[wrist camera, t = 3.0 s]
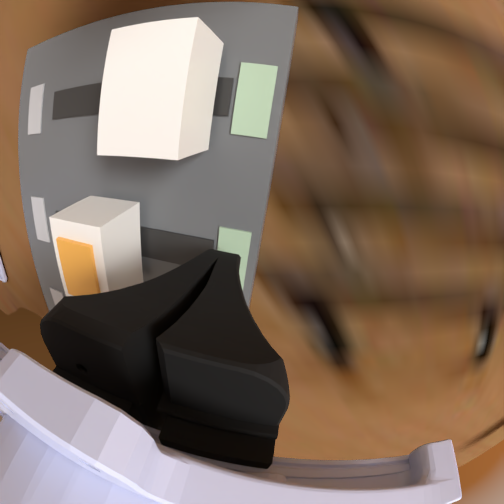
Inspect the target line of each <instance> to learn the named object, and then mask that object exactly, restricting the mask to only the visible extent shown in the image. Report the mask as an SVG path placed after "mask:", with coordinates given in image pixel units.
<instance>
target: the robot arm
mask: <svg viewBox="0 0 504 504" xmlns="http://www.w3.org/2000/svg"><path fill="white" fill-rule="evenodd" d="M240 262H241V257H240V255H239V254H234V253H229V252H224V251H219V250H214V249H209V250H207V251H205V252H203V253H202V254H200V255H198V256H196V257H195V258H193V259H191V260H190V261H188V262H186V263H184V264H183V265H181V266H179V267H177V268H175V269H173V270H171V271H169V272H167V273H165V274H163V275H160V276H158V277H156V278H153V279H151V280H148V281H145V282H143V283H140V284H136V285H133V286H129V287H126V288H122V289H118V290H114V291H109V292H103V293H97V294H90V295H78V296H64V297H63V298H62V299H61V300H60V301H59V302H58V303H57V304H56V305H55V306H54V307H53V308H52V309H51V310H50V311H49V312H48V313H47V314H46V315H45V317H44V318H43V319H42V320H41V323H40V329H41V335H42V337H43V340H44V342H45V344H46V346H47V348H48V350H49V352H50V354H51V356H52V358H53V360H54V362H55V364H56V368H55V369H54V370H53V371H51V370H49V369H47V368H46V367H44V366H43V365H41V364H40V363H38V362H37V361H35V360H34V359H32V358H30V357H29V356H27V355H26V354H25V353H23V352H21V351H19V350H17V349H10V350H9V349H8V348H7V347H6V346H4V345H3V344H2V343H1V342H0V415H1V416H2V417H3V419H2V421H1V422H0V504H451V503H453V502H456V501H458V500H460V499H461V497H462V493H461V486H460V480H459V474H458V468H457V463H456V458H455V453H454V449H453V444H452V440H451V439H447V440H443V441H438V442H432V443H428V444H425V445H422V446H420V447H418V448H416V449H415V450H414V451H412V452H411V453H410V454H409V455H405V456H398V457H389V458H379V459H365V460H307V459H293V458H282V457H273V454H274V446H275V439H277V436H278V428H279V424H280V422H281V420H282V418H283V416H284V414H285V412H286V411H287V409H288V405H289V400H290V394H289V384H288V378H287V373H286V369H285V365H284V362H283V359H282V358H281V357H280V356H279V355H278V354H277V352H276V351H275V350H274V349H273V348H272V347H271V346H270V344H269V343H268V342H267V340H266V339H265V337H264V336H263V335H262V333H261V331H260V329H259V328H258V326H257V324H256V323H255V321H254V319H253V317H252V315H251V313H250V311H249V308H248V306H247V303H246V301H245V297H244V294H243V290H242V286H241V281H240V275H239V269H240ZM0 280H1V281H3V282H6V281H7V276H6V273H5V270H4V267H3V264H2V260H1V257H0Z"/></svg>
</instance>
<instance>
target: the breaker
mask: <svg viewBox="0 0 504 504" xmlns="http://www.w3.org/2000/svg"><path fill="white" fill-rule="evenodd" d="M223 45H224V43H223V42H222V41H221V40H220V39H219V38H218V37H217V36H216V35H215V33H214V32H213V31H212V30H211V29H210V28H209V27H208V26H207V25H206V24H205V23H204V22H203V21H202V20H201V19H200V18H199V17H192V18H179V19H169V20H161V21H154V22H147V23H141V24H136V25H131V26H126V27H121V28H117V29H113V30H112V31H111V35H110V40H109V45H108V50H107V55H106V61H105V67H104V73H103V80H102V88H101V96H100V107H99V119H98V137H97V155H107V156H128V157H144V158H157V159H168V160H180V159H183V158H186V157H188V156H191V155H194V154H197V153H200V152H203V151H206V150H208V148H209V139H210V131H211V123H212V115H213V108H214V101H215V94H216V87H217V81H218V74H219V68H220V62H221V56H222V51H223Z"/></svg>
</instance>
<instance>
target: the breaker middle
mask: <svg viewBox="0 0 504 504" xmlns="http://www.w3.org/2000/svg"><path fill="white" fill-rule="evenodd" d="M49 220H50V226H51V233H52V238H53V244H54V249H55V254H56V259H57V263H58V267H59V272H60V276H61V280H62V283H63V287H64V291H65V294H66V296H78V295H90V294H97V293H103V292H109V291H114V290H118V289H122V288H126V287H129V286H133V285H136V284H140V283H143V271H142V257H141V239H140V202H134V201H127V200H120V199H113V198H105V197H98V196H88V197H86V198H84V199H82V200H80V201H78V202H76V203H74V204H73V205H71V206H69V207H67V208H65V209H63V210H61V211H59V212H57V213H56V214H54V215H52V216H50V217H49Z"/></svg>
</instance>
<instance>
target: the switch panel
mask: <svg viewBox="0 0 504 504" xmlns="http://www.w3.org/2000/svg"><path fill="white" fill-rule="evenodd" d="M192 17H199V18H200V19H201V20H202V21H203V22H204V23H205V24H206V25H207V26H208V27H209V28H210V29H211V30H212V31H213V32H214V33H215V35H216V36H217V37H218V38H219V39H220V40H221V41H222V42H223V43H224V45H223V51H222V56H221V62H220V68H219V74H218V81H217V87H216V94H215V101H214V108H213V115H212V123H211V131H210V139H209V148H208V150H206V151H203V152H200V153H197V154H194V155H191V156H188V157H186V158H183V159H180V160H168V159H157V158H144V157H128V156H107V155H97V137H98V119H99V107H100V96H101V88H102V80H103V73H104V67H105V61H106V55H107V50H108V45H109V40H110V35H111V31H112V30H113V29H117V28H121V27H126V26H131V25H136V24H141V23H147V22H154V21H161V20H169V19H179V18H192ZM297 21H298V7H294V6H287V5H279V4H268V3H254V2H204V3H190V4H179V5H171V6H163V7H157V8H151V9H145V10H140V11H135V12H131V13H126V14H122V15H118V16H114V17H110V18H107V19H103V20H100V21H97V22H93V23H90V24H87V25H84V26H81V27H79V28H76V29H73V30H70V31H68V32H65V33H63V34H60V35H58V36H56V37H53V38H51V39H49V40H46V41H44V42H42V43H40V44H38V45H36V46H34V47H32V48H30V49H28V51H27V56H26V61H25V67H24V73H23V80H22V88H21V97H20V109H19V130H18V151H19V173H20V185H21V194H22V202H23V210H24V216H25V222H26V228H27V233H28V238H29V243H30V247H31V252H32V256H33V260H34V264H35V268H36V271H37V275H38V278H39V282H40V285H41V288H42V291H43V295H44V298H45V301H46V303H47V306H48V309H49V311H50V310H51V309H52V308H53V307H54V306H55V305H56V304H57V303H58V302H59V301H60V300H61V299H62V298H63V297H64V296H66V294H65V291H64V287H63V283H62V280H61V276H60V272H59V267H58V263H57V259H56V254H55V249H54V244H53V238H52V233H51V226H50V220H49V217H50V216H52V215H54V214H56V213H57V212H59V211H61V210H63V209H65V208H67V207H69V206H71V205H73V204H74V203H76V202H78V201H80V200H82V199H84V198H86V197H88V196H98V197H105V198H113V199H120V200H127V201H134V202H140V239H141V257H142V271H143V282H145V281H148V280H151V279H153V278H156V277H158V276H160V275H163V274H165V273H167V272H169V271H171V270H173V269H175V268H177V267H179V266H181V265H183V264H184V263H186V262H188V261H190V260H191V259H193V258H195V257H196V256H198V255H200V254H202V253H203V252H205V251H207V250H209V249H214V250H219V251H224V252H229V253H234V254H239V255H240V257H241V262H240V269H239V275H240V281H241V286H242V290H243V294H244V297H245V301H246V303H247V306H248V308H249V307H250V302H251V296H252V291H253V285H254V279H255V274H256V268H257V262H258V257H259V251H260V245H261V239H262V234H263V228H264V222H265V216H266V210H267V205H268V199H269V193H270V187H271V181H272V175H273V169H274V163H275V157H276V151H277V145H278V139H279V133H280V127H281V121H282V115H283V109H284V103H285V97H286V91H287V84H288V78H289V72H290V66H291V59H292V53H293V47H294V40H295V34H296V28H297Z"/></svg>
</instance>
